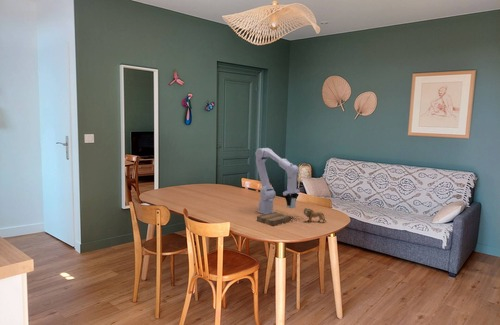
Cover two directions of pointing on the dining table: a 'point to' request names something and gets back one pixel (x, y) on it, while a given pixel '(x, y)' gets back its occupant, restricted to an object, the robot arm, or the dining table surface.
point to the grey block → (292, 203)
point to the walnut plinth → (273, 218)
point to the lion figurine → (313, 214)
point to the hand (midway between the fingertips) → (290, 205)
